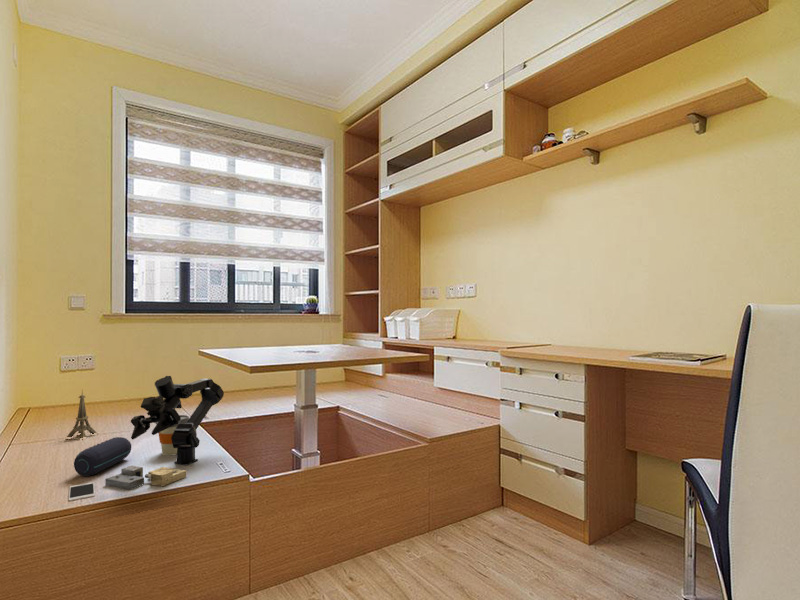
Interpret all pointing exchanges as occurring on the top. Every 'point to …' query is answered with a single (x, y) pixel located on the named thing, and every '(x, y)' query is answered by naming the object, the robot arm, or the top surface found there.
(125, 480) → the grey stepped block
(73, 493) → the smartphone
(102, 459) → the portable speaker
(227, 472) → the top surface
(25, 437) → the top surface
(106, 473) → the top surface
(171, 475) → the tan flat block
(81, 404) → the eiffel tower
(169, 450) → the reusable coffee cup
